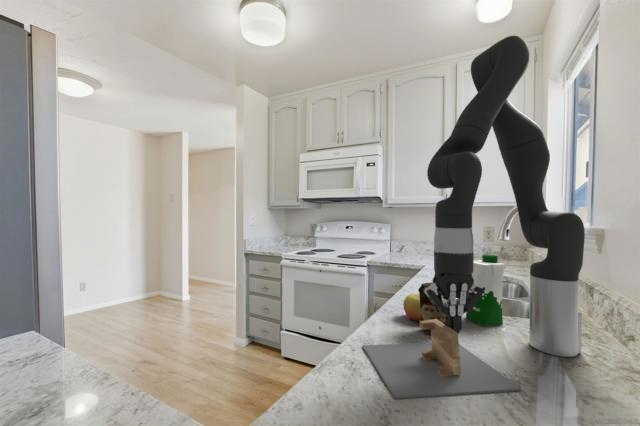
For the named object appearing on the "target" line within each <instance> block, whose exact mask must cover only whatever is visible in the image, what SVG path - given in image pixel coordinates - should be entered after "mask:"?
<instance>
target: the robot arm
mask: <svg viewBox="0 0 640 426" xmlns="http://www.w3.org/2000/svg"><path fill="white" fill-rule="evenodd" d="M530 51H531V50H530V48H529V45H528V43H527V42H526V41H525V40H524V39H523V38H522V37H520V36H518V35H509V36H507V37H504V38H502V39H500V40H499V41H497V42H496V43H494V44H492V45H491V46H490V47H489V48H487V49H485V50H484V51H482V52H481V53H480V54H478V55H477V56H476V57H474V59H473V60H472V62H471V64H470V74H471V79H472V82H473V85H474V87H475V89H476V92H477V93H476V94H475V96H474V97H473V98H472V99H471V100H470V101H469V103H468V104H467V105H466V106H465V107H464V109H463V110H462V112H461V113H460V114H459V117H458V118H457V121H456V123H455V125H454V127H453V129H452V131H451V134H450V136H448V138H447V139H446V141H444V142H443V143H442V145H441V146H440V147H439V148H438V150H436V152H435V153H434V155H433V156H432V158H431V160H430V161H429V163H428V165H427V166H428V167H427V172H426V173H427V176H426V177H427V181H428V182H429V184H430V185H431V186H433V188H436V189H452V190H451V193H450V195H449V196H448V197H447V198H445V199H441V200H439V201H438V202H436V205H435V212H434V214H435V215H434V217H435V218H434V219H435V220H434V221H435V222H434V223H435V225H434V227H435V229H434V237H433V269H434V276H433V278H432V282H431V283H432V284H431V285H430V286H429V287H428V288H427V287H424V288H423V292H424V293H425V295H426V296H427V297H428V299H429V300H430V301H431V303H432V304H433V305H434V306H435V308H436V309H437V310H439V311H441V312H442V313H443V314H445V325H446V326H448V327H449V328H451V329H452V330H454V331H455V332H457V333H458V335H459V334H460V332H461V331H462V328H463V327H462V326H463V325H462V322H463V321H462V319H463V317H462V316H463V314H466V312H468V313H469V312H471V310H472V309H473V307H474V306H475V304H476V303H477V302H478V300H479V299H480V297H481V296H482V294H483V293H484V289H483V288H480V287H478V286H477V285H476V284H474V279H473V277H472V273H473V271H474V257H475V256H474V243H475V242H474V234H473V207H474V202H475V199H476V196H477V193H478V190H479V186H480V183H481V179H482V174H483V173H482V172H483V167H482V162H481V160H480V158H479V157H478V155H477V153H479V152H480V151H481V150H482V149H483V148H484V145H485V144H486V142H487V139H488V137H489V135H490V131H491V129H493V132H494V133H493V134H494V135H495V138H496V139H495V140H496V142H497V144H498V145H497V146H498V149H499V151H500V155H501V157H502V161H503V164H504V166H505V170H506V172H507V174H508V178H509V181H510V185H511V188H512V192H513V195H514V198H515V199H514V200H515V202H516V209H517V214H518V219H519V224H520V228H521V231H522V235H523V236H524V239H525V240H526V242H528V243H529V245H530V246H533V247H536V248H540V249H547V254H546V257H545V258H544V259H543V260H541V261H537V262H533V263H531V264H530V267H529V325H528V326H529V327H528V328H529V329H528V330H529V332H528V333H529V334H528V335H529V338H528V339H529V346H531V347H532V348H534V349H536V350H537V351H539V352H542V353H545V354H549V355H552V356H557V357H562V358H563V357H564V358H573V357H577V356H578V354H582V331H583V330H582V328H583V327H582V323H583V322H582V319H583V318H582V315H583V313H582V312H581V311H580V310H579V278H580V277H579V275H580V273H581V271H582V268H583V263H584V249H585V239H586V238H585V237H586V235H585V234H586V232H585V226H584V223H583V222H584V221H583V220H582V218H581V217H580V215H578V214H577V213H574V212H572V211H559V210H558V211H549V210H548V208H547V206H546V201H545V199H544V193H543V188H544V187H543V186H544V182H545V179H546V175H547V172H548V169H549V165H550V159H551V155H550V150H549V146H548V143H547V140H546V138H545V137H546V136H545V135H544V132H543V130H542V128H541V127H540V125H538V123H536V122H535V121H534V120H532V118H530V117H528V116H527V115H526V114H524V113H523V112H521V111H519V109H517V108H516V107H515V106H514V105H513V104H512V103H511V102H510V100H509V96H510V95H511V93H512V92H513V90H514V89H515V87H516V86H517V84H518V83H519V82H520V80H521V79H522V77H523V76H524V74H525V72H526V71H527V69H528V68H529V66H530V61H531V52H530ZM437 290H438V291H439V293H440V294H441V297H442V301H443V303H442V302H441V300H440V299H439V298H438V296H437V295H438V292H437Z"/></svg>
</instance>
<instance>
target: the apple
mask: <svg viewBox="0 0 640 426" xmlns="http://www.w3.org/2000/svg"><path fill="white" fill-rule="evenodd" d="M403 310H404V312H405V315H406V316H407V317H408V318H409V319H411V320H412V321H415V322H419V321H421V310H420V295H419V293H411V294H409V295H407V296H406V297H405V299H404V300H403ZM419 323H420V322H419Z"/></svg>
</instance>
